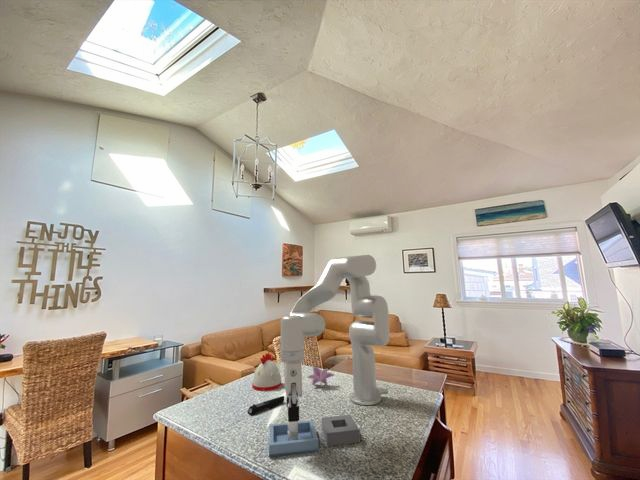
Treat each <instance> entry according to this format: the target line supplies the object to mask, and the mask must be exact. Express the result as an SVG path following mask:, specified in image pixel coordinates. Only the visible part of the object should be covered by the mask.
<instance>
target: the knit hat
mask: <svg viewBox="0 0 640 480" xmlns="http://www.w3.org/2000/svg"><path fill="white" fill-rule="evenodd" d="M259 359H260V361H261V363H260V364H258V366H257V367H256V369H254V371H253V372H254V375H253V377H252V381H251V382H252V384H251V386H252V389H253V390H254V391H258V392H259V391H260V392H270V391H274V390H277V389H279V388H281V386H282V376H281V371H280V370H279V367H278V365H277V364H276V363H275V361H273V360H274V356H272V354H270V352H267V353H265V354H262V357H260V358H259Z"/></svg>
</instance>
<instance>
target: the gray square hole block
mask: <svg viewBox="0 0 640 480" xmlns="http://www.w3.org/2000/svg"><path fill="white" fill-rule="evenodd" d="M320 418H321V419H320V420H321V421H320V422H321V431H322V434H323V438H324V439H325V443H326V444H325V445H326V446H327V447H332V446H339V445H349V444H356V443H360V428H359V427H358V425H357V423H356V422H355V420H354V418H353V417H352V416H351V414H345V415H335V416H333V415H332V416H326V417H320Z"/></svg>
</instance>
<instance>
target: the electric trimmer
mask: <svg viewBox="0 0 640 480" xmlns="http://www.w3.org/2000/svg"><path fill="white" fill-rule="evenodd" d="M284 402H285V396H284V395H281V396H279V397H275V398H271V399H268V400H265V401H263V402H259V403H257V404H255V403H253V404H252V405H250V407H248V409H247V414H248V415H249V416H254V415H256V414H257V413H259V412H261V411H264V410H267V409H274V408H275V407H277V406H279V405H281V404H283V403H284Z"/></svg>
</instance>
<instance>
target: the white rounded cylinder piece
mask: <svg viewBox="0 0 640 480" xmlns="http://www.w3.org/2000/svg"><path fill="white" fill-rule="evenodd" d="M288 406H289V404H288ZM298 422H299V421H294V422H288V421H287V423H288V441H292V440H298Z"/></svg>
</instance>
